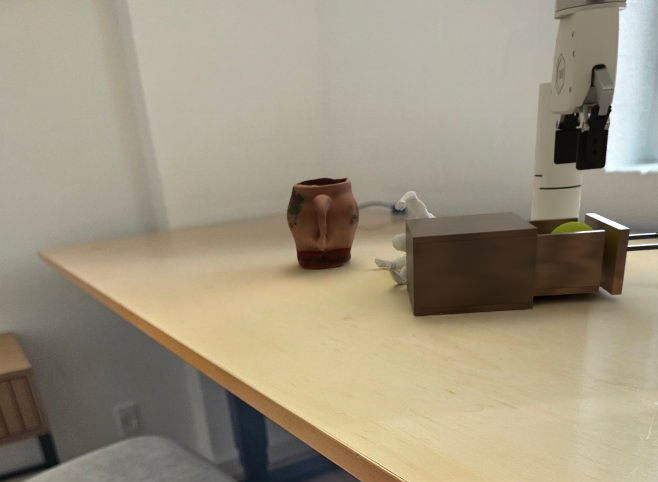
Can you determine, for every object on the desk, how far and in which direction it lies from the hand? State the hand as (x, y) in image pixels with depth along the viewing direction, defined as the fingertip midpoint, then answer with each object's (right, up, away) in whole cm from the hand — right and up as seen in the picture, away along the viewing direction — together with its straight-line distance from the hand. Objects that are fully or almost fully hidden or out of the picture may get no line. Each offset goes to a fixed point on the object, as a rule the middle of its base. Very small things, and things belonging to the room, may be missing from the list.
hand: (577, 166), depth 80 cm
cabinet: (-12, -14, +8) cm, 20 cm away
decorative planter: (-30, -3, +35) cm, 46 cm away
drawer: (+3, -13, +6) cm, 15 cm away
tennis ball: (+1, -12, +6) cm, 14 cm away
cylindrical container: (+6, -4, +26) cm, 27 cm away
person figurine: (-16, -7, +23) cm, 29 cm away
